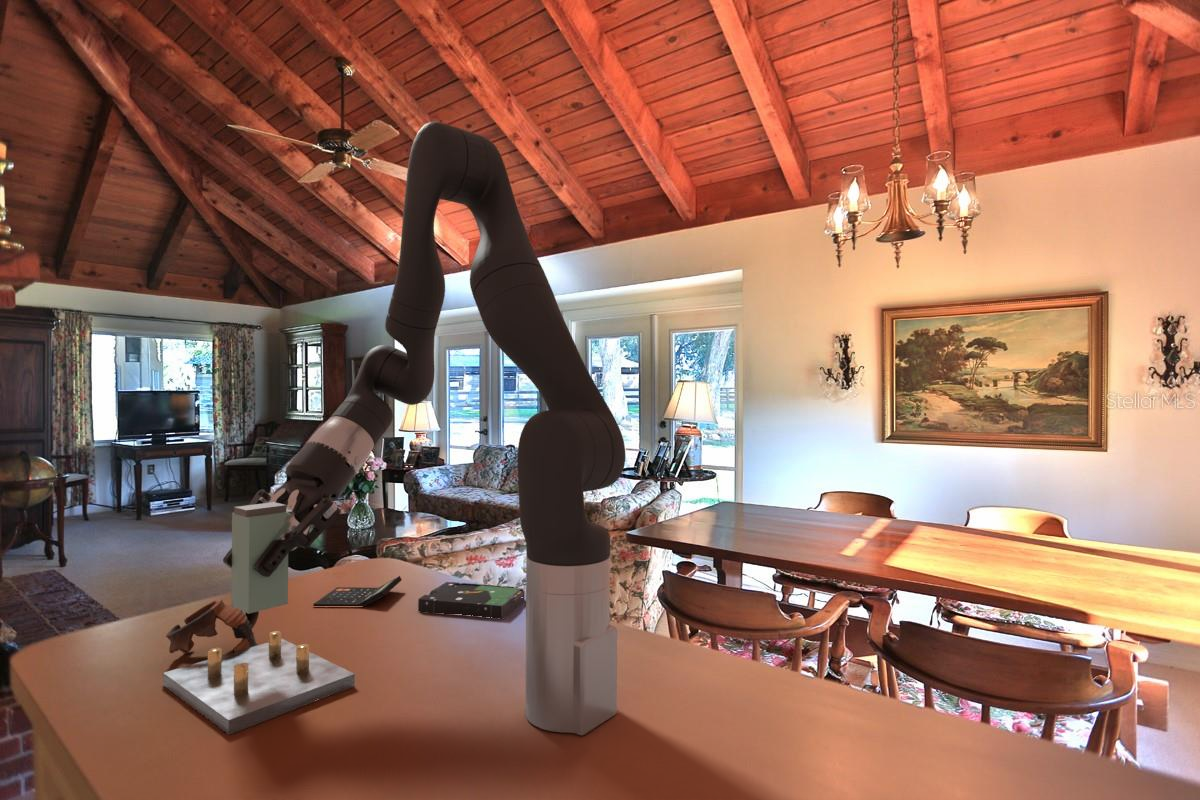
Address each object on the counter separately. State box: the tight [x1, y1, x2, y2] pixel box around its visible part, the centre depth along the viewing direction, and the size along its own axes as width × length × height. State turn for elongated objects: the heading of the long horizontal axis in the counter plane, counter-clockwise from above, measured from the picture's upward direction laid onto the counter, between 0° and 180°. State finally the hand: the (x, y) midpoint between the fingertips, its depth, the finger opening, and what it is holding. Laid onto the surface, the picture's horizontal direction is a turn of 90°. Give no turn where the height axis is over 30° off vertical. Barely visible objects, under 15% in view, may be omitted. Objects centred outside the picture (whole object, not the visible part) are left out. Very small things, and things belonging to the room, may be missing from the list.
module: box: [230, 502, 289, 614], centre depth 76 cm, size 4×5×12 cm
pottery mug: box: [165, 598, 260, 655], centre depth 86 cm, size 12×10×8 cm
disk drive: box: [417, 581, 526, 620], centre depth 106 cm, size 10×3×15 cm
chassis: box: [162, 630, 356, 736], centre depth 76 cm, size 18×14×4 cm
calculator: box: [312, 575, 403, 608], centre depth 109 cm, size 9×12×3 cm
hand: (245, 568), depth 74 cm, fingers closed on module, 5 cm apart
